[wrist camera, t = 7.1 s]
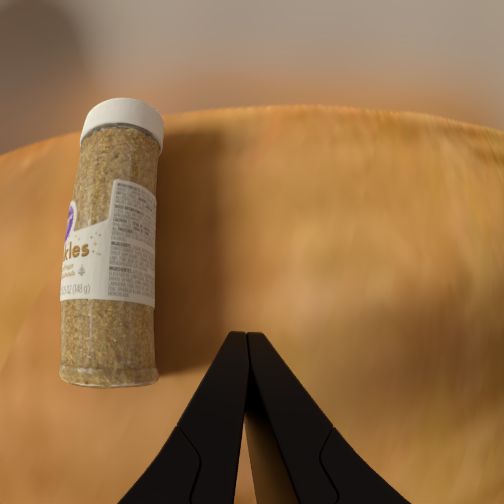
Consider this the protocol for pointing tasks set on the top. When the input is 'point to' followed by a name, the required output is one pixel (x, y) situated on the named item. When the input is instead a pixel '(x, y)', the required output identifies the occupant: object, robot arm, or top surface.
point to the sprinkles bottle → (112, 250)
